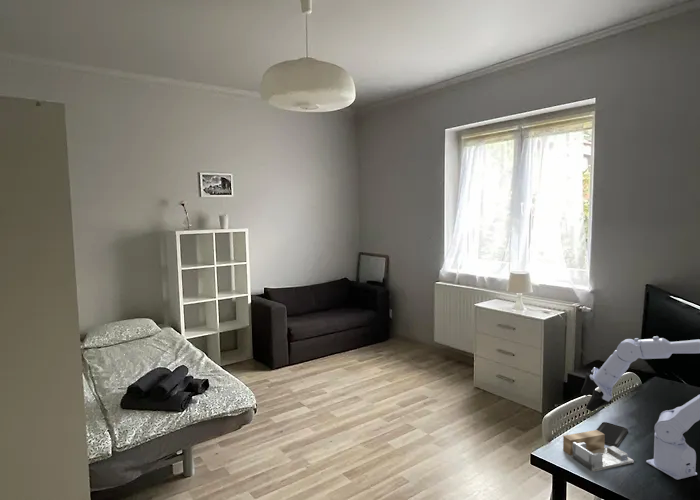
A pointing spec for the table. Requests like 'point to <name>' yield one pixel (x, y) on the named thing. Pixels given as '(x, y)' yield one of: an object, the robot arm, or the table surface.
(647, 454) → the table surface
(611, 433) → the phone
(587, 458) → the bracket board
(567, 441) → the oak rail
